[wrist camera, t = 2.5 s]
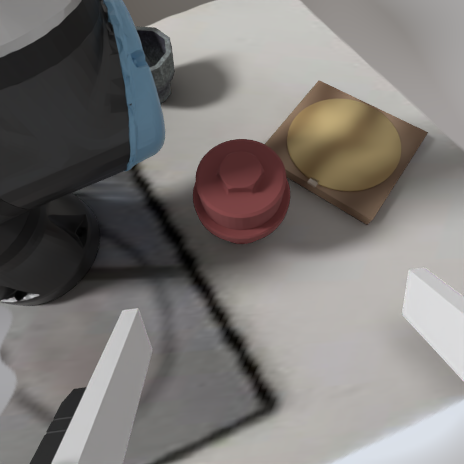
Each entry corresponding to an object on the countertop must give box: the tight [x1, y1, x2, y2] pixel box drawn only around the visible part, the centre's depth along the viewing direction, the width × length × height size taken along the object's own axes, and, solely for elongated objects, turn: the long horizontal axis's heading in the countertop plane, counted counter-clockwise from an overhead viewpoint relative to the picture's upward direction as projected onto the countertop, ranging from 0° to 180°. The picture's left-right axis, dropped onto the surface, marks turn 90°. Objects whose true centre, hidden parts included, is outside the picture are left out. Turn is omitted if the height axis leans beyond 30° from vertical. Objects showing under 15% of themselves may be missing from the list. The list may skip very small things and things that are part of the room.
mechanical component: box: [193, 139, 290, 244], centre depth 30 cm, size 12×10×10 cm
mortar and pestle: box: [135, 27, 174, 103], centre depth 39 cm, size 11×9×12 cm
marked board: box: [265, 81, 428, 225], centre depth 38 cm, size 17×16×2 cm
